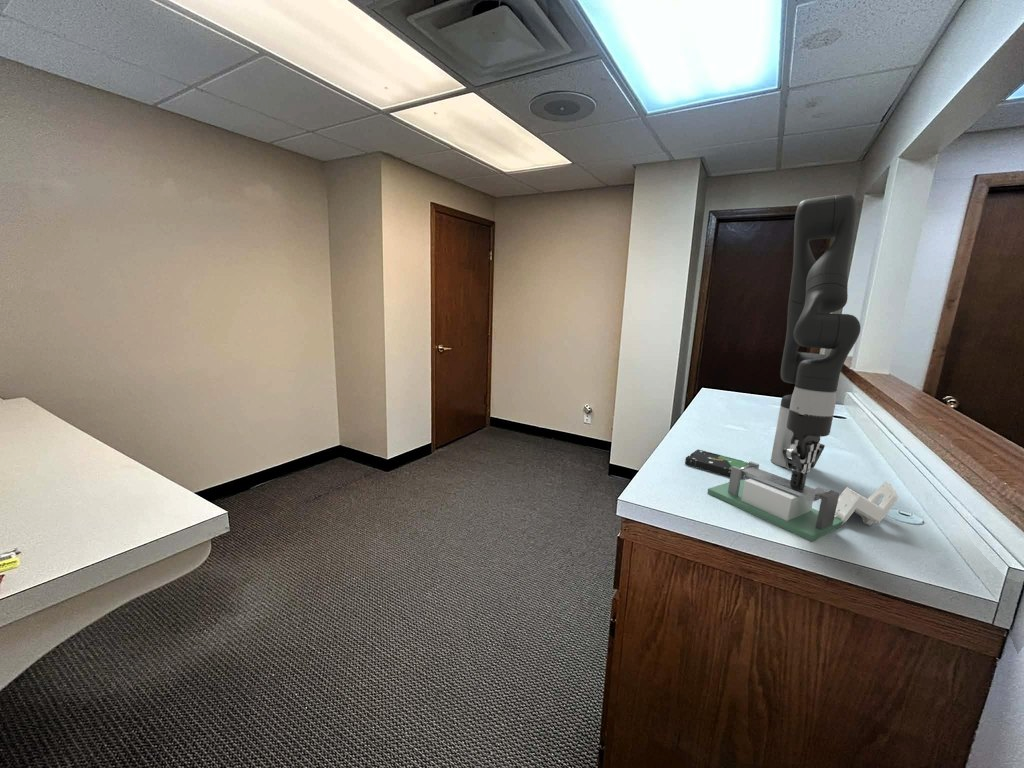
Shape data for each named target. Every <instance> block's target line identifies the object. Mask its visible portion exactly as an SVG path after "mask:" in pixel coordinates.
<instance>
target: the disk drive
mask: <svg viewBox="0 0 1024 768" xmlns="http://www.w3.org/2000/svg"><path fill="white" fill-rule="evenodd" d="M685 464H687V465H686V466H690V467H692V468H696V469H699V470H704V471H707V472H710V473H714V474H716V475H717V474H718V475H721V476H724V477H727V478H730V475H731V469H732V467H733V466H735V467H738V468H742V467H746V466H748V464H749V461H748V462H747V461H744V460H741V459H736V458H733V457H730V456H729V457H728V456H725V455H722V454H721V455H720V454H718V453H715V452H709V451H706V450H703V449H696V450H695V451H694V452H692V453H690V454H689V455H687V456H686V457H685V460H684V465H685ZM744 477H746V475H743V474H742V475H741V480H743V478H744Z"/></svg>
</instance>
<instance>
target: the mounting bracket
mask: <svg viewBox="0 0 1024 768" xmlns="http://www.w3.org/2000/svg"><path fill="white" fill-rule="evenodd" d="M881 498H882V500H881V502H880V503H879V504H876V503H877V502H878V501H879V500H880V499H881ZM898 499H899V495H898V493H897V492H896V490H895V489H894V487H893V485H892V484H891V483H889V482H888V481H886V482H883V483H882V484H881V485H880V486H879V487H878V488H877V489H876V490H875V491H874V492H873V493H872V494H871V495H870V496H869V497H868V498H867V497H865V496H863V495H861V494H859V493H858V492H856V491H854V490H852V489H851V488H849V487H848V486H847V487H846V488H844V490H843V491H842V492H841V494H839V498H838V503H837V507H836V512H835V516H834V517H835V518H838V519H840V520H842V521H843V524H842V525H844V524H845V523H847V521H848V520H849V518H850V517H851V516H852V515H853V513H854V514H857V515H858V516H860V517H861V519H862V521H863V523H864V524H865V525H867V526H871V525H872V524H874V523H876V524H879V523H881V522H882V521H883V519H884V518H885V516H886V515H887V514H888V513H889V511H890V510H891V509H892V507H894V505H895V503H896V502H897V501H898Z"/></svg>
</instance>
